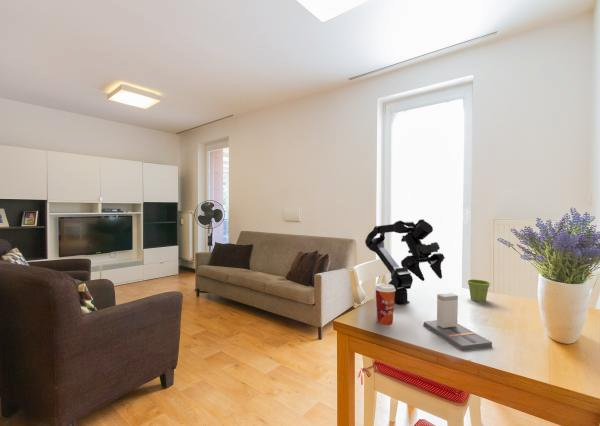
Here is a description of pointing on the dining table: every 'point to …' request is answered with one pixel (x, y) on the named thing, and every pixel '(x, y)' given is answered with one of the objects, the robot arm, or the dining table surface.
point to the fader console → (459, 336)
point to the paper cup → (385, 303)
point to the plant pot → (478, 289)
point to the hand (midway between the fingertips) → (432, 279)
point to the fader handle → (447, 310)
